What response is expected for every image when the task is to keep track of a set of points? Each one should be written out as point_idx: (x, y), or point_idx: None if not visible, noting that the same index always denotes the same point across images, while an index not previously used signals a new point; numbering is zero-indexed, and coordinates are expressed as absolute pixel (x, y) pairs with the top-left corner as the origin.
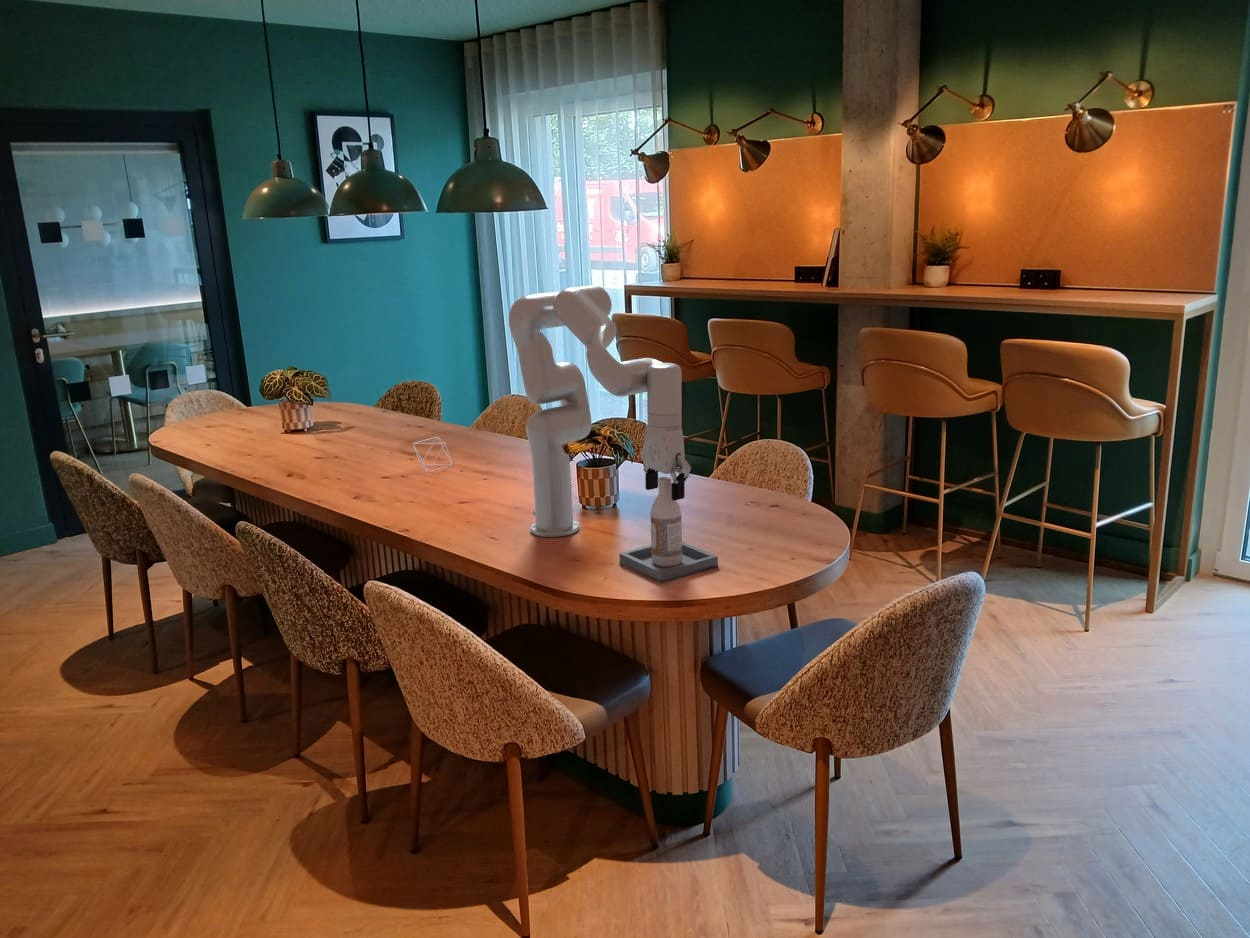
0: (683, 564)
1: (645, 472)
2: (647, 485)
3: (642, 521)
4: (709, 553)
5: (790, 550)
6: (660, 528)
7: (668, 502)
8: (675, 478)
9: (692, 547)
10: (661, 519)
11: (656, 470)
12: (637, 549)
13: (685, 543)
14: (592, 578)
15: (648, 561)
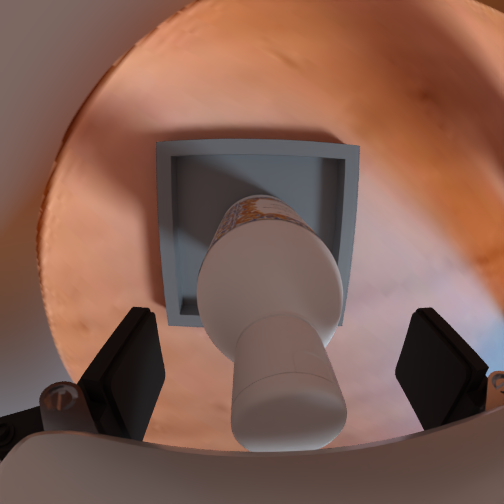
0: (169, 227)
1: (492, 372)
2: (429, 323)
3: (471, 341)
4: (195, 324)
5: (175, 433)
6: (232, 220)
7: (215, 309)
8: (43, 413)
9: None
10: (225, 233)
11: (303, 453)
12: (351, 203)
13: None
14: (307, 41)
15: (299, 201)
